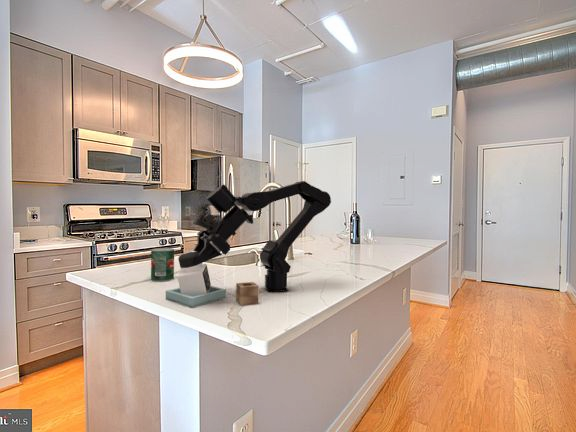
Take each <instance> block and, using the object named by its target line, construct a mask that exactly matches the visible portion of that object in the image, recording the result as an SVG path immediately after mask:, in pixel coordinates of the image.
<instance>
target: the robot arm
mask: <svg viewBox="0 0 576 432" xmlns="http://www.w3.org/2000/svg"><path fill="white" fill-rule="evenodd" d="M296 195H299V196H300V198H301V199H302V200H303V201H304V203H303V208H302V210H301V211H300V212H299V213H298V214H297V216H296V217H295V218H294V219H293V220H292V221H291V223H290V224H289V225H288V226H287V227H286V229H285V230H284V231H283V232H282V233H281V235H280V236H279V237H278V238H277V239H276V240H270V239H269V240H268V241H267V242H266V244H265V245H264V246H263V247H262V248H261V252H260V253H259V260H260V262H261V263H262V264H263V265H264V266H263V267H264V269H265V270H266V274H264V288H265V290H266V291H267V292H269V293H274V292H275V293H277V292H289V289H288V274H289V272H290V271H291V267H292V265H290V263H288V262H287V261H286V258H288V252H289V250H290V247H291V246H292V244H294V242H295V241H296V240H297V239H298V237H300V235H301V233H303V232H304V230H305V229H306V227H307V226H308V225H309V224H310V222H311V221H312V220H313V219H314V217H316V216H317V215H319V214H321V213H323V212H324V211H325V210H326V209H327V208H328V207H330V205H331V204H332V198H331V195H330V194H329V193H328V192H327V191H324V190H322V189H320V188H318V187H316V186H314V185H311V184H310V183H308V182H307V181H305V180H302V181H301V180H300V181H296V182H294V183H291V184H287V185H285V186H281V187H280V186H279V187H278V188H273V189H269V190H267V191H257V192H256V191H255V192H254V191H253V192H246V193H244V194H243V195H241V196H235V195H234V194H233V193H232V192H231V191H230V190H229V187H227V186H226V184H222V185H220V186H219V187H217V188H216V189H214V190H213V191H211V192H210V193H209V194H208V196H206V198H205V200H206V201H207V202H208V203H209V204H210V205H211V206H212V208H213V209H215V210H216V211H217V212H218V213H220V214H221V213H222V212H223V214H224V216H222V217H221V218H220V219H216V220H214V219H215V218H214V214H213V215H212V214H211V213H206V214H205V215H203V214H201V213H197V215H196V217H195V219H194V221H193V225H196V226H199V227H202V228H203V229H200V230H199V231H198V232H197V234H196V235H197V236H196V239H197V244H196V245H195V247H194V249H193V250H192V251H197V252H199V255H198V256H197V258H196V259H195V260H194V262H193V264H194V265H195V266H196V265H198V264H201V263H202V264H204V263H206V262H207V261H209V260H212V259H215V258H218V257H219V256H222V255H225V256H226V254H228V253H229V252H230V251H231V244H229V243H228V240H229V239H230V238H231V237H232V236H233V237H234V236H235V235H237V231H238V230H239V228H240V227H241V226H243V225H244V224H245V222H246V223H247V224H251V225H252V224H254V219H253V218H254V215H253V214H249V213H248V212H258V211H260V210H263V209H264V208H266V207H267V206H269V205H270V204H272V203H274V202H276V201H277V202H278V201H280V200H283V199H287V198H291V197H293V196H296ZM240 207H241V208H240Z"/></svg>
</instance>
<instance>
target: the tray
mask: <svg viewBox="0 0 576 432" xmlns="http://www.w3.org/2000/svg"><path fill="white" fill-rule="evenodd" d="M224 299H227V289H226V288H221V287H218V286H213V285H211V287H210V289H209V292H208V293H206V294H202V295H198V296H195V297H191V296H188V295H184V294H181V291H180V287H176V288H172V289H167V290H165V300H166V301H169V302H172V303H176V304H179V305H182V306H184V307H189V308H191V309H192V308H193V309H194V308H195V307H200V306H203V305H207V304H210V303H213V302H217V301H220V300H224Z"/></svg>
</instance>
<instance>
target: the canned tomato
mask: <svg viewBox="0 0 576 432" xmlns="http://www.w3.org/2000/svg"><path fill="white" fill-rule="evenodd" d="M150 253H151V254H150V255H151V256H150V281H152V282H154V283H155V282H157V283H161V282H170V281H174V279H175V248H173V247H172V248H171V247H160V248H159V247H158V248H157V247H156V248H152V249H150Z"/></svg>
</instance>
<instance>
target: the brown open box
mask: <svg viewBox="0 0 576 432" xmlns="http://www.w3.org/2000/svg"><path fill="white" fill-rule="evenodd" d="M235 287H236V288H235V302H236V303H237V304H238V305H239V306H249V305H258V304H259V285H258V284H257V283H255V282H253V281H249V282H248V281H247V282H246V281H245V282H237V283H236V285H235Z"/></svg>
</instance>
